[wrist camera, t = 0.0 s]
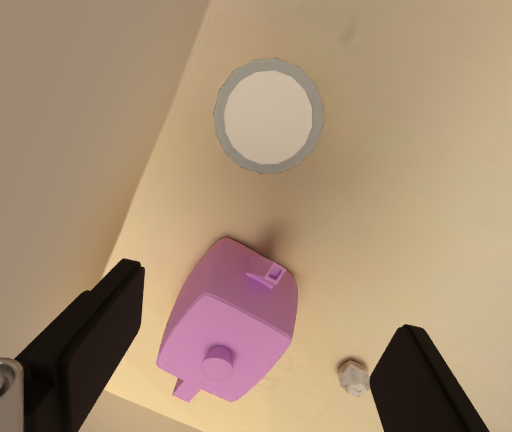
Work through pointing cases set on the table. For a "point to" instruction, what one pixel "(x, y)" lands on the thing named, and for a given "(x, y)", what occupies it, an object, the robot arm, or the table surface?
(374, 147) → the table surface
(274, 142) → the beige cup
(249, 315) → the teapot
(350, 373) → the game die
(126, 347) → the robot arm
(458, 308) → the table surface
